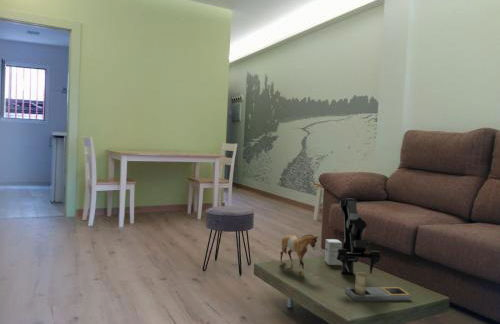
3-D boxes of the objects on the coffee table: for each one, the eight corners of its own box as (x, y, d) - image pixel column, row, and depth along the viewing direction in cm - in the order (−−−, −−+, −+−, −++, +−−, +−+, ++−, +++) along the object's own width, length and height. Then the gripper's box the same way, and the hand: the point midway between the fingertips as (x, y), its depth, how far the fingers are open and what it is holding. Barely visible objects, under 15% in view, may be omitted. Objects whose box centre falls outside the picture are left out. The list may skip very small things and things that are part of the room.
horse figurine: (317, 278, 195) (319, 236, 194) (303, 279, 192) (305, 237, 191) (285, 260, 223) (287, 223, 222) (273, 261, 220) (274, 224, 219)
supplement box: (324, 261, 226) (325, 238, 225) (337, 261, 226) (338, 239, 226) (327, 265, 218) (329, 242, 218) (341, 265, 219) (342, 242, 219)
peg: (354, 293, 175) (355, 271, 175) (364, 295, 174) (366, 272, 174) (354, 297, 171) (355, 274, 171) (365, 298, 170) (366, 275, 170)
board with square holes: (355, 301, 167) (355, 296, 166) (345, 291, 177) (345, 286, 177) (411, 300, 170) (411, 295, 170) (397, 291, 181) (398, 286, 181)
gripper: (338, 230, 180) (340, 261, 169) (381, 233, 178) (386, 264, 168) (335, 244, 188) (337, 274, 177) (376, 246, 186) (380, 277, 176)
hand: (360, 272), depth 174 cm, fingers open, 9 cm apart
